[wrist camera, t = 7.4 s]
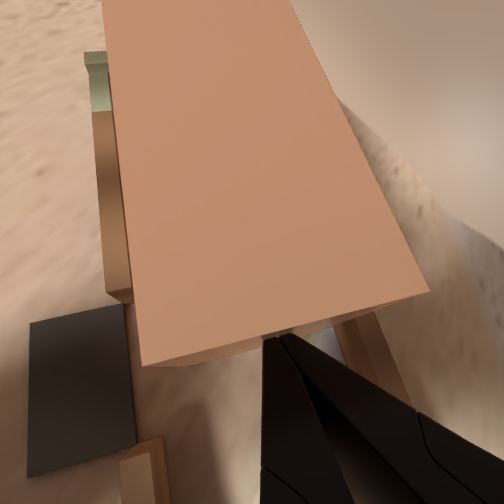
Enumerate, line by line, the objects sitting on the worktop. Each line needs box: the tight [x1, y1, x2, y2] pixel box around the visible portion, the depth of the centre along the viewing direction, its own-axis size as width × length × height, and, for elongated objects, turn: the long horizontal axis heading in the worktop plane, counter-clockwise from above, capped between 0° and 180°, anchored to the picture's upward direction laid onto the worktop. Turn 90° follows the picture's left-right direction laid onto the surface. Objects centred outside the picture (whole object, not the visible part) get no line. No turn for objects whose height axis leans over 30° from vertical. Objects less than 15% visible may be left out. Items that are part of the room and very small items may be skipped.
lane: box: [27, 51, 412, 504], centre depth 14 cm, size 26×19×3 cm
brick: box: [101, 0, 430, 366], centre depth 12 cm, size 15×6×9 cm, turn 15°
